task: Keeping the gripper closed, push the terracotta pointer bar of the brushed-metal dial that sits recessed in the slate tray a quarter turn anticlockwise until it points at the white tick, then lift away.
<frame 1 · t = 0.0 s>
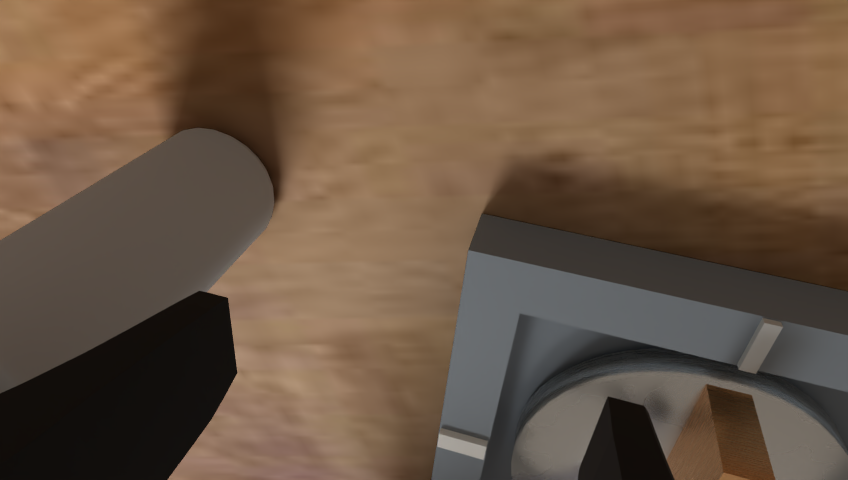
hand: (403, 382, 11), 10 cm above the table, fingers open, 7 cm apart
beverage can: (228, 179, 23), on the table
slate tray: (665, 447, 24), on the table
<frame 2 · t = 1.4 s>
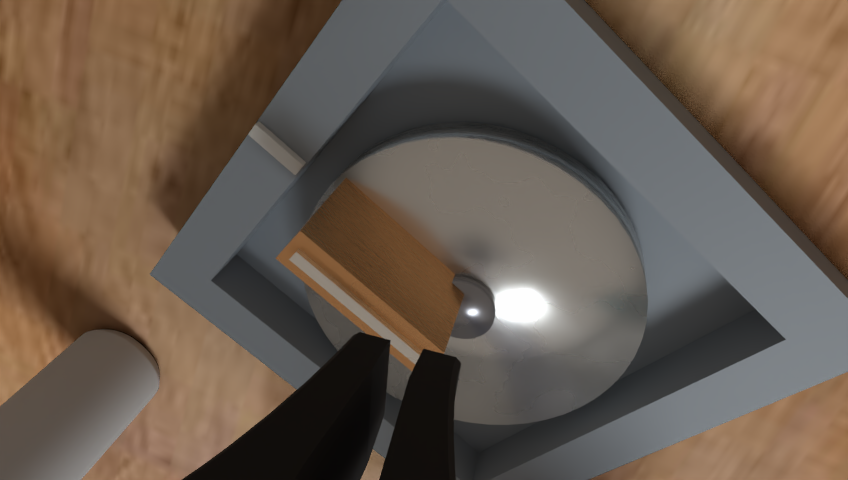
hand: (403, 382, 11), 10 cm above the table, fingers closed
beverage can: (128, 355, 31), on the table
dial: (455, 322, 19), point 3 cm above the table, hinge at 0.0°
slate tray: (474, 267, 22), on the table
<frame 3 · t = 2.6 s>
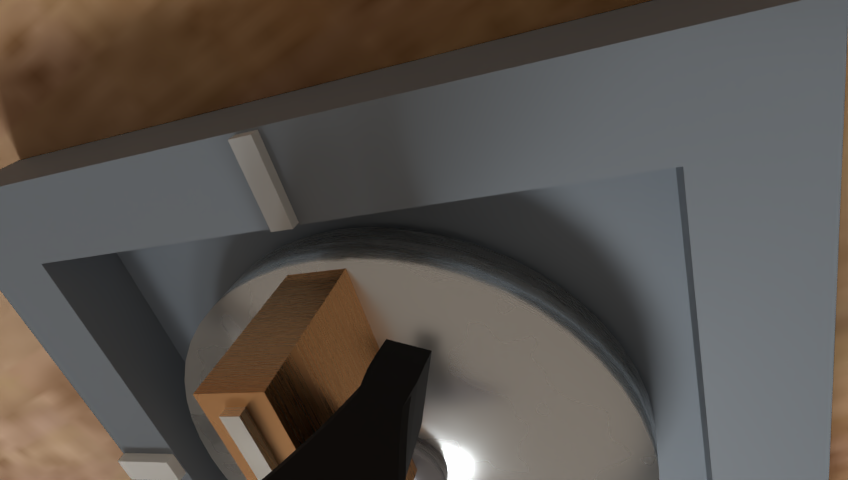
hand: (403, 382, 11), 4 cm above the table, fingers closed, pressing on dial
slate tray: (424, 397, 16), on the table
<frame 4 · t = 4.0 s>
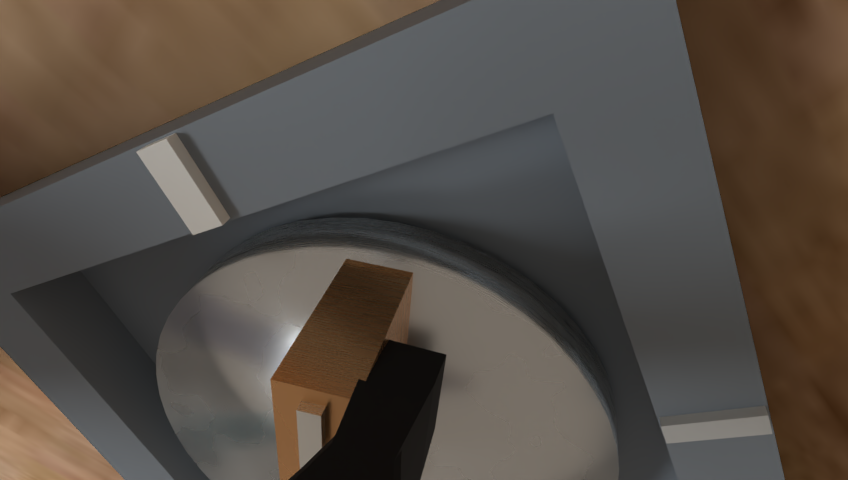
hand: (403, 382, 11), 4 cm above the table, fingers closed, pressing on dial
slate tray: (394, 386, 17), on the table
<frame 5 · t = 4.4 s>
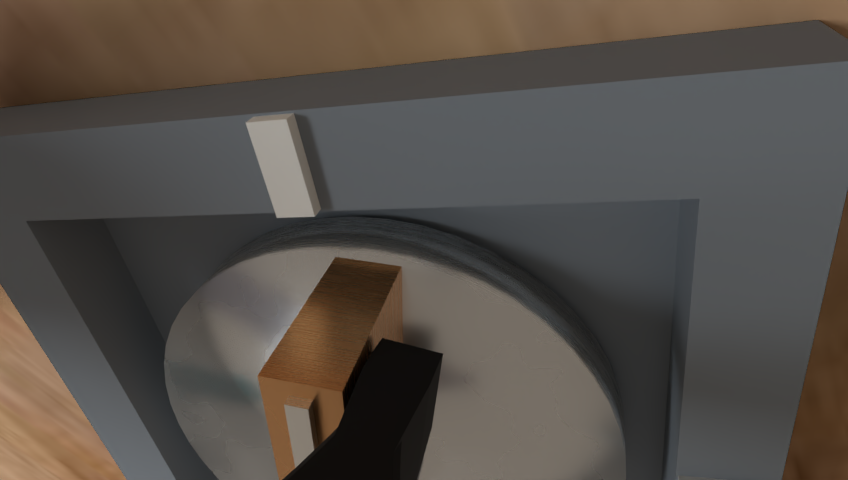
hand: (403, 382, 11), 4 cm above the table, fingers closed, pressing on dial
slate tray: (401, 385, 17), on the table
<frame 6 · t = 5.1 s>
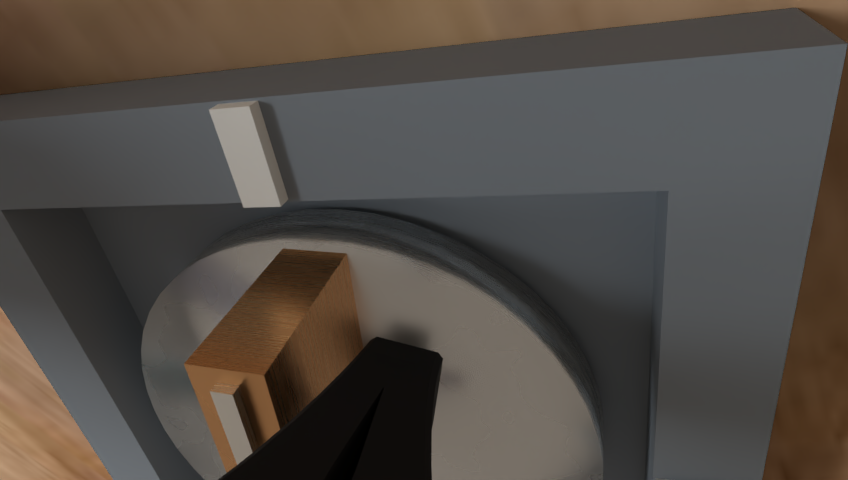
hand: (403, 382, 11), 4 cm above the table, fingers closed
slate tray: (382, 381, 16), on the table
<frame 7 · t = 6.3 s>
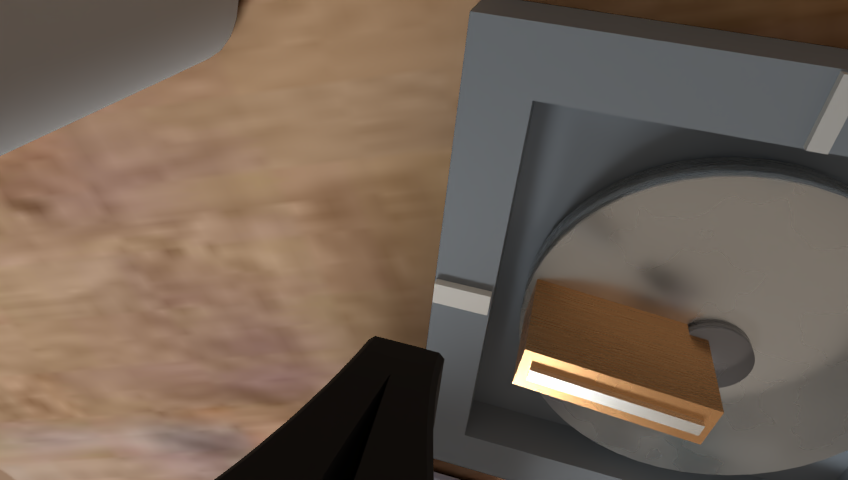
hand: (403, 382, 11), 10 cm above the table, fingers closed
dial: (714, 373, 17), point 3 cm above the table, hinge at 85.2°
slate tray: (699, 307, 20), on the table
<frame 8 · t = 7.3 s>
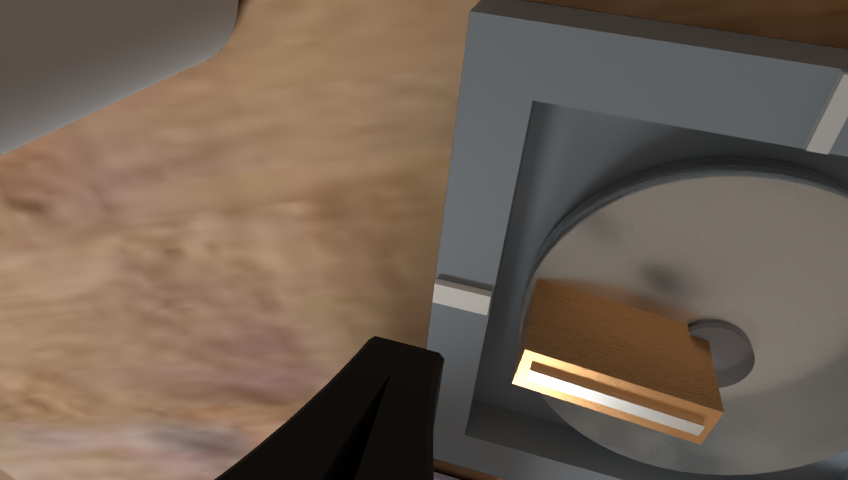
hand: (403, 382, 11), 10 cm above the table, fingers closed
dial: (714, 373, 17), point 3 cm above the table, hinge at 85.2°
slate tray: (699, 307, 20), on the table
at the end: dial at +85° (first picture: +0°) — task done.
